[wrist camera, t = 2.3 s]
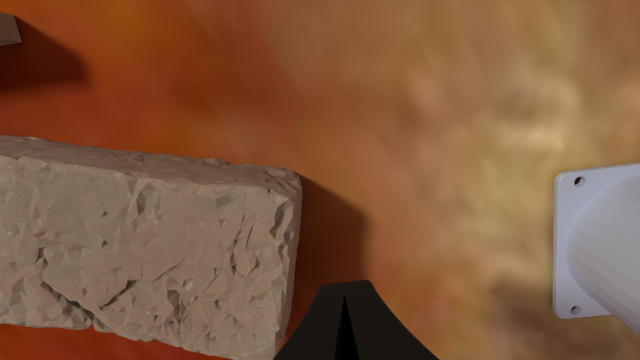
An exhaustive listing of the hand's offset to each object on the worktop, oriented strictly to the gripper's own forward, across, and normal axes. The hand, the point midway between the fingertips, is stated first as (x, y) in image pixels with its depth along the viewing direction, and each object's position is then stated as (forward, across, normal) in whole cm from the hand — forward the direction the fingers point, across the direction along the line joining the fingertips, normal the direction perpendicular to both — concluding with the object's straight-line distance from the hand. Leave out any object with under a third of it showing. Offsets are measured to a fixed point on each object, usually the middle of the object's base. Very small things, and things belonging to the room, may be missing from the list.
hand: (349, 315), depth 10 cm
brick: (+10, +10, 0) cm, 15 cm away
